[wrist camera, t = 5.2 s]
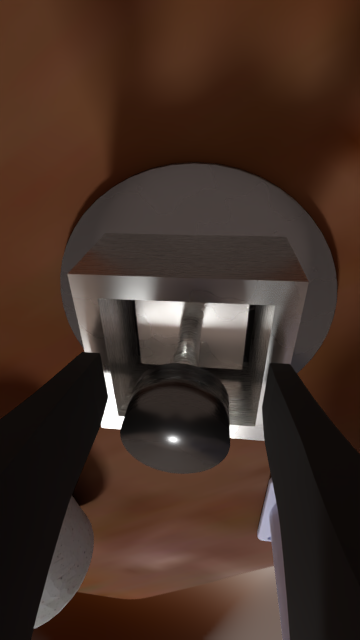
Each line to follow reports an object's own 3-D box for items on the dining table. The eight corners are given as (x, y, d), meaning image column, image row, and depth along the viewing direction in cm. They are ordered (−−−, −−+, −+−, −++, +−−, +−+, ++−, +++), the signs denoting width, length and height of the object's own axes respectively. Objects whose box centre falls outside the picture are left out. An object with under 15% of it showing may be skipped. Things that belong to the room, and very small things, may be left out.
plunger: (251, 269, 13) (272, 385, 7) (241, 361, 15) (251, 495, 10) (135, 266, 13) (77, 372, 8) (144, 355, 16) (104, 481, 10)
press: (372, 161, 11) (444, 186, 7) (304, 407, 17) (324, 483, 14) (34, 162, 12) (-43, 184, 9) (88, 392, 19) (57, 458, 15)
